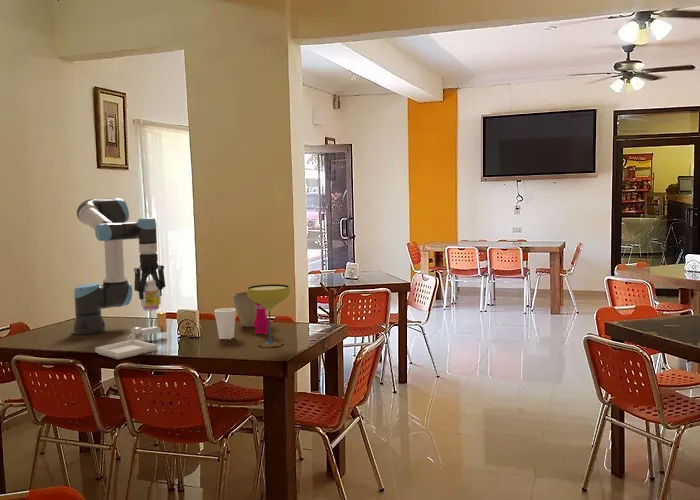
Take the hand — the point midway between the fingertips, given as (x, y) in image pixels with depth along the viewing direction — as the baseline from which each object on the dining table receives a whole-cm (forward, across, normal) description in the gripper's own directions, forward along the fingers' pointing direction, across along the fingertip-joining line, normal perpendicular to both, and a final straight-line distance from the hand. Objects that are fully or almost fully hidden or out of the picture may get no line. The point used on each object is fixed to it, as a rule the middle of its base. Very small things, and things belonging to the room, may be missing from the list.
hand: (151, 305), depth 289 cm
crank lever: (+14, +3, +8) cm, 17 cm away
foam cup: (+17, +26, -19) cm, 36 cm away
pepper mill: (+17, +42, -25) cm, 52 cm away
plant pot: (+17, +52, -5) cm, 55 cm away
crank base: (+17, -2, +9) cm, 20 cm away
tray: (+17, -15, -4) cm, 23 cm away
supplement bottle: (+2, 0, 0) cm, 2 cm away
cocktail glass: (+17, +28, -46) cm, 56 cm away
